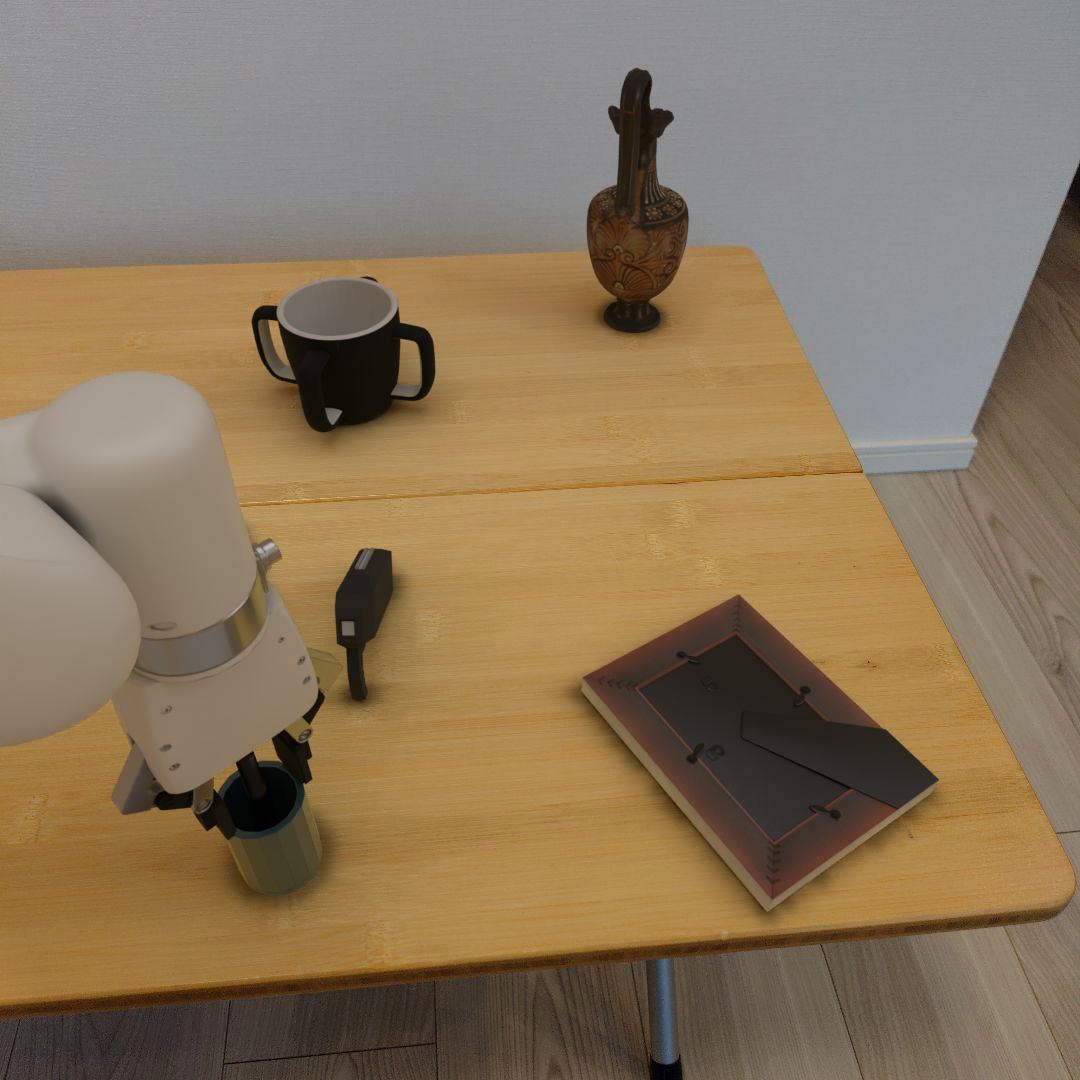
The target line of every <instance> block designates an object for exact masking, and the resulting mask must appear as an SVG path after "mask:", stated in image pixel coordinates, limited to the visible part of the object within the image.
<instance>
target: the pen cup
mask: <svg viewBox="0 0 1080 1080" xmlns="http://www.w3.org/2000/svg"><path fill="white" fill-rule="evenodd" d="M257 762H258V765H259V768H260V770H261V773H262V776H263V779H264V782H265V784H266V787H267V790H268V793H269V796H270V798H271V801H272V804H273V807H274V810H275V812H276V815H277V818H278V821H279V823H278V824H277V825H276V826H274V827H272V828H269V829H266V830H263V831H262V830H261V828H260V825H259V822H258V820H257V817H256V815H255V812H254V810H253V807H252V804H251V802H250V799H249V797H248V794H247V791H246V789H245V786H244V784H243V781H242V779H241V776H240V773H239V771H238V769H237V770H235V771H234V772H233V773H231V774H230V775H229V776H228V777H227V778H226V780H224V782H223V783H222V784H221V786H220V787H219V788H218V790H217V793H218V794H219V796H220V797H221V798H222V799H223V801H224V802H225V804H226V807H227V809H228V811H229V814H230V816H231V818H232V821H233V823H234V825H235V828H236V830H237V832H235V836H234V837H232V838H231V839H229V840H227V839H226V838H225V837H224V836H223V837H224V840H225V842H226V845H227V846H228V848H229V851H230V853H231V855H232V857H233V860H234V862H235V864H236V867H237V869H238V871H239V873H240V876H241V877H242V878H243V880H244V882H245V883H246V884H247V886H248V887H249V888H250V889H251V890H252V891H254V892H256V893H258V894H260V895H264V896H268V897H269V896H270V897H280V896H286V895H288V894H291V893H294V892H296V891H299V890H300V889H302V888H303V887H304V886H306V885H307V884H308V883H309V882H310V881H311V879H312V878H314V876H315V875H316V873H317V872H318V870H319V868H320V866H321V863H322V860H323V859H322V858H323V844H322V840H321V837H320V836H321V835H320V833H319V829H318V826H317V823H316V819H315V817H314V813H313V810H312V807H311V803H310V800H309V797H308V793H307V789H306V787H305V783H303V784H301V783H300V782H299V781H298V780H297V779H296V778H295V776H294V775H293V774H292V773H291V772H290V771H289V770H288V768H287V767H286V766H285V765H284V764H283V763H282V762H281V760H257Z"/></svg>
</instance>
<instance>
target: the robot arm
mask: <svg viewBox="0 0 1080 1080" xmlns="http://www.w3.org/2000/svg"><path fill="white" fill-rule="evenodd" d="M230 466H231V465H230V463H229V460H228V456H227V452H226V449H225V444H224V442H223V438H222V435H221V430H220V427H219V425H218V422H217V420H216V416H215V414H214V411H213V409H212V407H211V406H210V404H209V402H208V401H207V399H205V398H204V396H203V395H202V393H200V392H199V390H197V389H196V388H195V387H193V386H192V385H191V384H190V383H187V382H185V381H184V380H182V379H180V378H178V377H175V376H173V375H169V374H166V373H161V372H154V371H153V372H152V371H149V370H127V371H118V372H117V371H115V372H112V373H111V372H110V373H106V374H103V375H99V376H95V377H92V378H90V379H86V380H84V381H82V382H79V383H77V384H75V385H73V386H71V387H70V388H67V389H66V390H64V391H63V392H61V393H60V394H59V395H58V396H56V397H55V398H53V400H51V401H50V402H49V403H48V404H46V405H45V406H43V407H41V408H37V409H34V410H33V409H32V410H29V411H26V412H22V413H19V414H16V415H12V416H8V417H4V418H3V417H2V418H0V749H3V748H6V747H15V746H19V745H24V744H27V743H32V742H35V741H39V740H43V739H45V738H46V739H47V738H49V737H51V736H54V735H56V734H59V733H61V732H64V731H67V730H69V729H71V728H73V727H75V726H77V725H79V724H80V723H82V722H84V721H86V720H87V719H88V718H90V717H92V716H93V715H94V714H95V713H97V712H98V711H99V710H101V709H102V708H103V707H105V706H106V705H107V704H108V703H109V702H110V701H111V703H112V706H113V709H114V712H115V714H116V717H117V719H118V722H119V725H120V727H121V729H122V731H123V734H124V736H125V738H126V740H127V742H128V744H129V746H130V748H131V749H130V751H129V752H128V753H129V754H128V756H127V758H126V760H125V763H124V765H123V766H122V767H123V768H122V769H121V772H120V774H119V776H118V779H117V781H116V782H115V785H114V788H113V790H112V792H111V795H110V800H111V801H112V803H113V805H114V806H115V807H116V809H117V810H118V811H119V812H120V814H121V815H122V816H130V815H134V814H139V813H143V812H149V811H152V809H155V808H157V809H158V810H159V811H164V812H165V811H173V810H183V809H191V810H192V813H193V815H194V816H195V818H196V819H197V821H198V822H199V824H200V825H201V826H202V827H203V829H204V830H205V831H206V832H209V831H210V830H212V829H213V828H215V827H216V828H217V829H218V831H219V832H220V833H221V835H223V837H225V838H226V839H227V840H229V839H231V838H232V837H234V836H235V832H237V830H236V828H235V825H234V823H233V821H232V818H231V816H230V814H229V811H228V809H227V807H226V804H225V802H224V801H223V799H222V798H221V797H220V796H219V794H218V791H216V789H215V788H214V787H215V777H216V776H218V775H220V774H221V773H222V772H223V771H226V769H228V768H229V767H231V766H233V765H234V764H236V762H237V761H239V760H240V759H242V758H243V757H244V756H246V755H247V754H249V753H250V752H252V751H256V749H259V748H260V747H261V746H262V745H264V744H265V743H267V742H268V741H270V740H271V741H272V745H273V748H274V751H275V753H276V756H277V758H278V759H279V761H280V762H282V763H283V764H284V765H285V766H286V767H287V768H288V770H289V771H290V772H291V773H292V774H293V775H294V776H295V778H296V779H297V780H298V781H299V782H300V783H301V784H303V783H304V785H307V784H309V783H310V782H311V781H313V780H314V779H313V778H314V777H313V774H312V772H311V768H310V764H309V760H311V759H312V758H313V753H312V750H311V747H310V741H309V740H310V739H311V737H312V736H313V734H314V728H313V727H312V726H311V723H312V722H313V721H314V719H315V717H316V715H317V714H318V713H319V710H320V708H321V707H322V706H323V704H324V702H325V700H326V696H325V693H326V692H329V690H330V689H331V687H332V686H333V685H334V683H335V682H336V680H337V679H338V677H339V676H340V674H342V671H343V669H344V666H343V664H342V663H341V662H340V661H339V660H338V659H337V658H336V657H335V656H333V654H332V653H330V652H327V651H323V650H319V649H315V648H311V647H308V646H306V644H305V642H304V640H303V637H302V635H301V633H300V631H299V628H298V626H297V625H296V623H295V621H294V619H293V616H292V615H291V612H290V611H289V609H288V607H287V606H286V604H285V602H284V601H283V599H282V597H281V595H280V594H279V593H278V591H277V590H276V589H275V587H274V586H273V584H272V583H271V582H270V581H269V580H268V578H267V577H266V576H267V573H268V571H270V570H271V569H272V566H273V565H275V564H276V563H278V562H279V561H281V560H282V559H283V556H282V552H281V550H280V548H279V546H278V545H277V544H276V542H275V541H274V540H273V539H272V538H270V537H267V538H266V539H264V540H263V541H260V542H253V543H252V542H251V538H250V534H249V531H248V528H247V525H246V524H247V523H246V521H245V518H244V514H243V509H242V506H241V503H240V499H239V496H238V493H237V488H236V485H235V482H234V481H235V480H234V477H233V474H232V470H231V467H230ZM225 838H224V839H225Z"/></svg>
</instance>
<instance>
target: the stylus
mask: <svg viewBox="0 0 1080 1080" xmlns="http://www.w3.org/2000/svg"><path fill="white" fill-rule="evenodd" d="M235 765H236V768H237V770H238V771H239V773H240V776H241V779H242V781H243V784H244V786H245V789H246V791H247V794H248V797H249V799H250V802H251V804H252V807H253V810H254V812H255V815H256V817H257V820H258V822H259V825H260V828H261V830H262V831H263V830H266V829H269V828H272V827H274V826H276V825H277V824H278V823H279V821H278V818H277V815H276V812H275V810H274V807H273V804H272V801H271V798H270V796H269V793H268V790H267V787H266V784H265V782H264V779H263V776H262V773H261V770H260V768H259V765H258V760H257V757H256V754H255V750H253V751H252V752H250V753H249V754H247V755H246V756H244V757H243V758H242V759H240V760H239V761H237V762H236V763H235Z"/></svg>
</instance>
